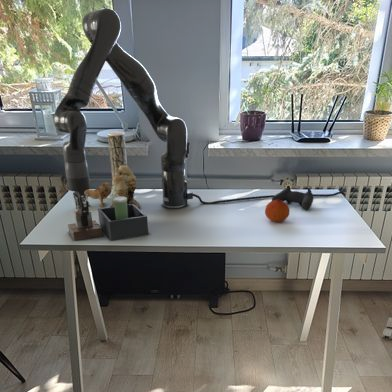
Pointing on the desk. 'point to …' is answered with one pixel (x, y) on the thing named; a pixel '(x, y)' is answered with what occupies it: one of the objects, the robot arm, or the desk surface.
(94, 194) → the lion figurine
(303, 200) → the gaming controller
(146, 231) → the gray open box
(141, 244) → the desk surface
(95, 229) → the panel
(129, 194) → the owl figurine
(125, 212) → the green tube
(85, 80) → the robot arm
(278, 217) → the fruit
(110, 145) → the birch log
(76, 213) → the tap knob
